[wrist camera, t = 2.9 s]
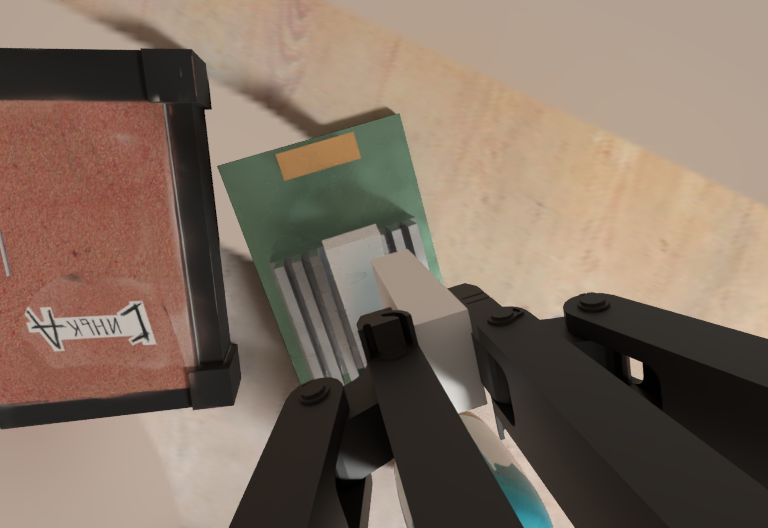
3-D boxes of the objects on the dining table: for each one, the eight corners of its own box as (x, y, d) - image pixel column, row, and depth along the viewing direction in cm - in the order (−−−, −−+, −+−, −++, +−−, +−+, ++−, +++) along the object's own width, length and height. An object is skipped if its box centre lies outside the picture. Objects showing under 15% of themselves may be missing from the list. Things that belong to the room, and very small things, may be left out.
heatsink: (314, 414, 42) (316, 464, 35) (219, 165, 35) (200, 167, 28) (460, 362, 43) (490, 399, 36) (396, 114, 36) (418, 104, 30)
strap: (376, 400, 38) (378, 409, 37) (321, 240, 23) (324, 250, 23) (408, 389, 38) (412, 397, 38) (375, 223, 23) (379, 233, 23)
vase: (390, 388, 42) (458, 563, 24) (491, 389, 44) (625, 551, 26) (378, 482, 45) (432, 709, 26) (475, 479, 47) (588, 686, 28)
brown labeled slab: (-57, 61, 31) (-123, 44, 26) (206, 64, 34) (191, 49, 29) (26, 398, 37) (-15, 434, 32) (241, 375, 40) (233, 405, 35)
